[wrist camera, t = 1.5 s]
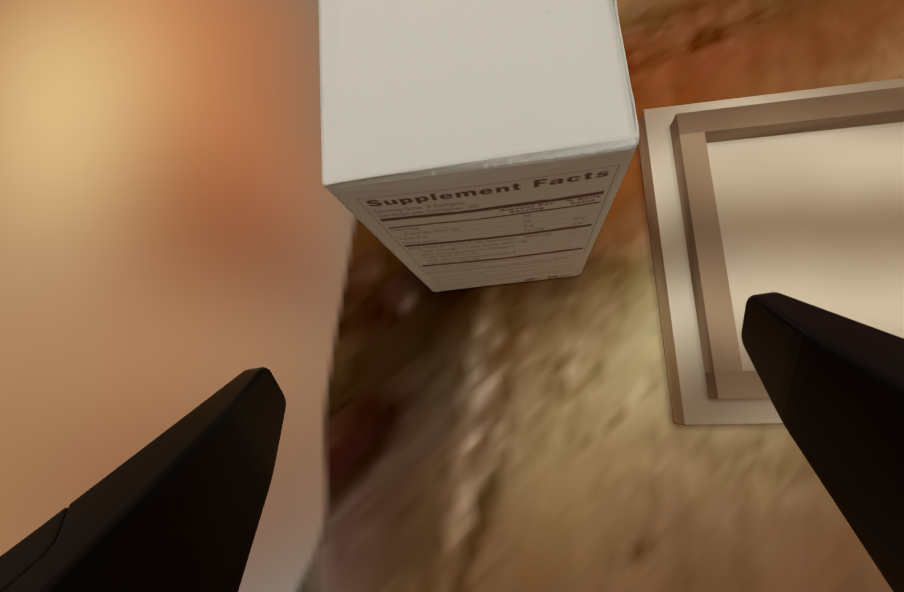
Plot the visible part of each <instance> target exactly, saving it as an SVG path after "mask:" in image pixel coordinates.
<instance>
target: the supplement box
mask: <svg viewBox="0 0 904 592" xmlns="http://www.w3.org/2000/svg"><path fill="white" fill-rule="evenodd" d="M318 4H319V57H320V102H321V103H320V104H321V105H320V106H321V146H322V147H321V148H322V149H321V150H322V183H323V186H324V187H325V188H327V189H328V190H329V191H330V192H331V193H332V194H333V195H334V196H335V197H336V198H337V199H338V200H339V201H340V202H341V203H342V204H343V205H344V206H345V207H346V208H347V209H348V210H349V211H350V212H351V213H352V214H353V215H354V216H355V217H356V218H357V219H359V220H360V221H361V222H362V223H363V224H364V225H365V226H366V227H367V228H368V229H369V230H370V231H371V232H372V233H373V234H374V235H375V236H376V237H377V238H378V239H379V240H380V241H381V242H382V243H383V244H384V245H385V246H386V247H387V248H388V249H389V250H390V251H391V252H392V253H393V254H394V255H395V256H396V257H397V258H398V259H400V260H401V261H402V262H403V263H404V264H405V265H406V266H407V267H408V268H409V269H410V270H411V271H412V272H413V273H414V274H415V275H416V276H417V277H418V278H419V279H420V280H421V281H422V282H423V283H424V284H426V285H427V286H428V287H429V288H430V289H431V290H432V291H433V292H440V291H448V290H456V289H464V288H473V287H481V286H490V285H500V284H508V283H517V282H526V281H536V280H544V279H552V278H561V277H571V276H578V275H580V274H581V273H582V270H583V268H584V265H585V263H586V261H587V258H588V256H589V253H590V251H591V249H592V247H593V245H594V242H595V240H596V238H597V236H598V233H599V231H600V229H601V227H602V224H603V222H604V220H605V217H606V216H607V214H608V211H609V209H610V207H611V204H612V202H613V200H614V198H615V196H616V193H617V191H618V189H619V187H620V185H621V182H622V180H623V177H624V175H625V173H626V171H627V168H628V166H629V164H630V161H631V159H632V157H633V154H634V152H635V150H636V147H637V145H638V143H639V125H638V121H637V116H636V109H635V103H634V98H633V93H632V88H631V84H630V78H629V73H628V67H627V61H626V56H625V50H624V45H623V40H622V34H621V29H620V23H619V18H618V10H617V2H616V0H318Z"/></svg>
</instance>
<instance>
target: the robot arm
mask: <svg viewBox="0 0 904 592" xmlns="http://www.w3.org/2000/svg"><path fill="white" fill-rule="evenodd" d="M741 338H742V342H743V345H744V348H745V350H746V352H747V354H748V356H749V358H750V360H751V362H752V364H753V366H754V368H755V370H756V372H757V374H758V376H759V378H760V380H761V382H762V384H763V386H764V388H765V390H766V392H767V394H768V396H769V398H770V400H771V402H772V404H773V406H774V408H775V409H776V411H777V413H778V415H779V417H780V419H781V420H782V422H783V424H784V425H785V427H786V429H787V430H788V432H789V433H790V435H791V436H792V438H793V439H794V441H795V443H796V444H797V446H798V447H799V449H800V450H801V452H802V453H803V455H804V456H805V458H806V459H807V461H808V462H809V464H810V465H811V467H812V468H813V470H814V471H815V473H816V475H817V476H818V478H819V479H820V481H821V482H822V484H823V485H824V487H825V488H826V490H827V491H828V493H829V494H830V496H831V497H832V499H833V500H834V502H835V503H836V505H837V507H838V508H839V510H840V511H841V513H842V514H843V516H844V517H845V519H846V520H847V522H848V523H849V525H850V526H851V528H852V529H853V531H854V532H855V534H856V535H857V537H858V539H859V540H860V542H861V543H862V545H863V546H864V548H865V549H866V551H867V552H868V554H869V555H870V557H871V558H872V560H873V561H874V563H875V564H876V566H877V567H878V569H879V571H880V572H881V574H882V575H883V577H884V578H885V580H886V581H887V583H888V584H889V586H890V587H891V589H892V590H893V592H904V338H901V337H898V336H896V335H893V334H890V333H887V332H885V331H882V330H879V329H877V328H874V327H871V326H868V325H866V324H863V323H860V322H857V321H855V320H852V319H849V318H847V317H844V316H841V315H838V314H836V313H833V312H830V311H827V310H825V309H822V308H819V307H816V306H814V305H811V304H808V303H806V302H803V301H800V300H797V299H795V298H792V297H789V296H786V295H784V294H781V293H778V292H769V293H762V294H756V295H752V296H750V297H749V298H748V300H747V302H746V306H745V312H744V319H743V325H742V331H741ZM285 407H286V401H285V398H284V395H283V393H282V391H281V389H280V387H279V385H278V384H277V382H276V380H275V378H274V377H273V375H272V373H271V372H270V370H269V369H267V368H264V367H261V368H254V369H248V370H245V371H244V372H242V373H241V374H240V375H238V376H237V377H236V378H234V379H233V380H232V381H230V382H229V383H228V384H226V385H225V386H224V387H223V388H221V389H220V390H219V391H217V392H216V393H215V394H213V395H212V396H211V397H209V398H208V399H207V400H206V401H204V402H203V403H202V404H200V405H199V406H198V407H196V408H195V409H194V410H192V411H191V412H190V413H189V414H187V415H186V416H185V417H183V418H182V419H181V420H179V421H178V422H177V423H176V424H174V425H173V426H172V427H170V428H169V429H168V430H166V431H165V432H164V433H162V434H161V435H160V436H158V437H157V438H156V439H155V440H153V441H152V442H151V443H149V444H148V445H147V446H145V447H144V448H143V449H142V450H140V451H139V452H138V453H136V454H135V455H134V456H132V457H131V458H130V459H128V460H127V461H126V462H124V463H123V464H122V465H121V466H119V467H118V468H117V469H115V470H114V471H113V472H112V473H110V474H109V475H107V476H106V477H105V478H104V479H102V480H101V481H100V482H98V483H97V484H96V485H94V486H93V487H92V488H90V489H89V490H88V491H87V492H85V493H84V494H83V495H81V496H80V497H79V498H77V499H76V500H75V501H73V502H72V503H71V504H70V505H69V507H68V508H64V509H63V510H61V511H60V512H59V513H58V514H56V515H55V516H54V517H52V518H51V519H50V520H48V521H47V522H46V523H45V524H43V525H42V526H41V527H39V528H38V529H37V530H35V531H34V532H33V533H31V534H30V535H29V536H27V537H26V538H25V539H23V540H22V541H21V542H20V543H18V544H16V545H15V546H14V547H12V548H11V549H10V550H9V551H7V552H6V553H5V554H3V555H2V556H0V592H238V590H239V586H240V583H241V580H242V577H243V573H244V570H245V567H246V563H247V560H248V557H249V553H250V550H251V547H252V543H253V540H254V537H255V533H256V530H257V527H258V523H259V520H260V517H261V514H262V510H263V507H264V504H265V500H266V497H267V493H268V490H269V486H270V483H271V479H272V475H273V471H274V466H275V461H276V456H277V450H278V445H279V440H280V435H281V429H282V424H283V419H284V413H285Z"/></svg>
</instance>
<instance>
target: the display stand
mask: <svg viewBox="0 0 904 592" xmlns="http://www.w3.org/2000/svg"><path fill="white" fill-rule="evenodd" d="M638 125H639V143H638V144H639V152H640V160H641V168H642V175H643V183H644V191H645V199H646V207H647V215H648V223H649V231H650V239H651V247H652V255H653V262H654V270H655V278H656V286H657V294H658V302H659V310H660V318H661V326H662V334H663V342H664V349H665V357H666V365H667V373H668V381H669V389H670V397H671V405H672V413H673V421H674V423H679V424H683V425H706V424H759V423H783V422H782V420H781V419H780V417H779V415H778V413H777V411H776V409H775V408H774V406H773V404H772V402H771V400H770V398H769V396H768V394H767V392H766V390H765V388H764V386H763V384H762V382H761V380H760V378H759V376H758V374H757V372H756V370H755V368H754V366H753V364H752V362H751V360H750V358H749V356H748V354H747V352H746V350H745V348H744V345H743V342H742V338H741V331H742V325H743V319H744V312H745V306H746V302H747V300H748V298H749V297H750V296H752V295H756V294H762V293H769V292H778V293H781V294H784V295H786V296H789V297H792V298H795V299H797V300H800V301H803V302H806V303H808V304H811V305H814V306H816V307H819V308H822V309H825V310H827V311H830V312H833V313H836V314H838V315H841V316H844V317H847V318H849V319H852V320H855V321H857V322H860V323H863V324H866V325H868V326H871V327H874V328H877V329H879V330H882V331H885V332H887V333H890V334H893V335H896V336H898V337H901V338H904V78H901V79H892V80H884V81H876V82H868V83H859V84H851V85H843V86H835V87H826V88H818V89H810V90H802V91H793V92H785V93H777V94H769V95H760V96H752V97H744V98H736V99H728V100H719V101H711V102H703V103H695V104H686V105H678V106H670V107H662V108H653V109H645V110H643V113H642V115H641V118H640V120H639V123H638Z"/></svg>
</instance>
